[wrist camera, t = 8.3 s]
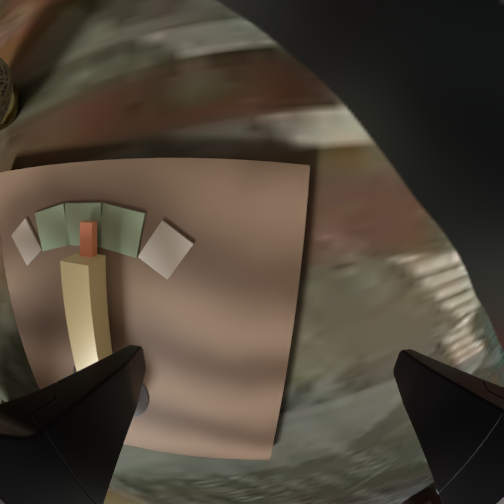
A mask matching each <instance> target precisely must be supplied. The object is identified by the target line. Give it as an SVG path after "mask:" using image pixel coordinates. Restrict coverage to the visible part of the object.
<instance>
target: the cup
mask: <svg viewBox="0 0 504 504" xmlns="http://www.w3.org/2000/svg"><path fill="white" fill-rule="evenodd" d="M20 103H21V93H20V90H19V89H18V87H17V86H16V85H15V84H14V83H13V80H12V74H11V71H10V69H9V67H8V65H7V64H6V63H5V62H4V61H3V59H1V58H0V130H3V129H5V128H6V127H8V126H9V125H10V124H11V123H12V121H13V120H14V119H15V117H16V115H17V113H18V110H19V107H20Z"/></svg>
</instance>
